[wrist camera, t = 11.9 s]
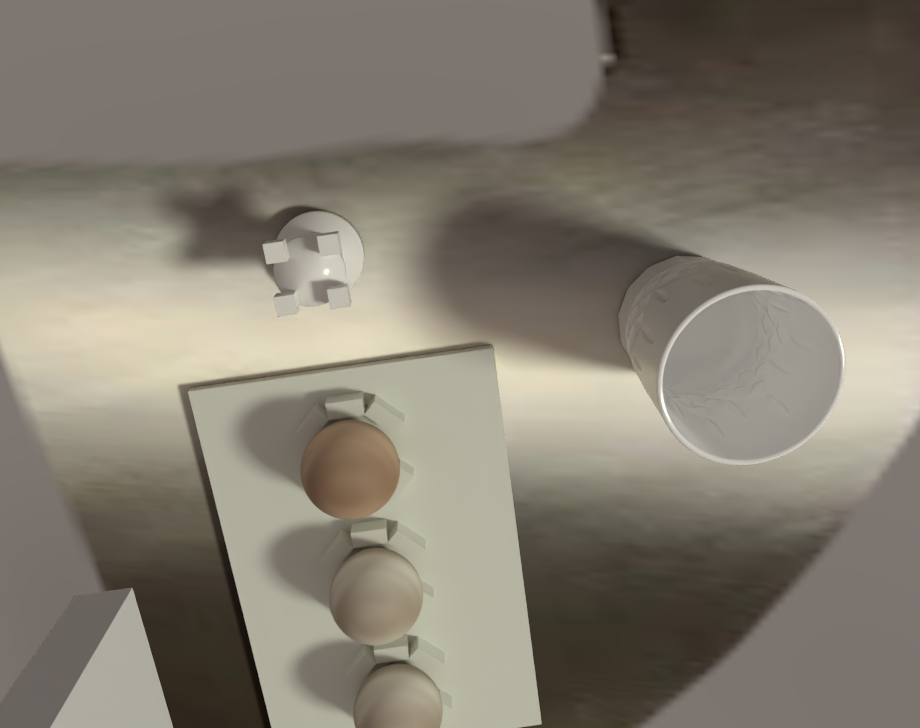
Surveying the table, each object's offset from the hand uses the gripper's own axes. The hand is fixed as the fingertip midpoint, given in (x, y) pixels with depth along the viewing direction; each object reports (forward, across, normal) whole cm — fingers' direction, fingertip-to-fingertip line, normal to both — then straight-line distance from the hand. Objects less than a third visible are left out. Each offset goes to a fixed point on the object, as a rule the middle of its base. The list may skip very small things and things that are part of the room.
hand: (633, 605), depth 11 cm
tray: (+33, -8, -18) cm, 38 cm away
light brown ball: (+32, -8, -10) cm, 35 cm away
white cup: (+33, +10, -6) cm, 35 cm away
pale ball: (+32, -8, -26) cm, 42 cm away
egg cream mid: (+32, -8, -18) cm, 38 cm away
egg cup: (+33, -8, 0) cm, 34 cm away
